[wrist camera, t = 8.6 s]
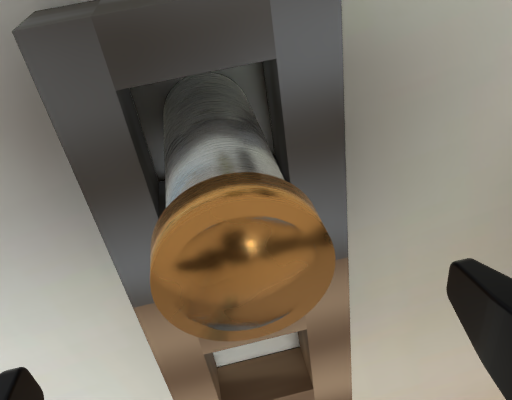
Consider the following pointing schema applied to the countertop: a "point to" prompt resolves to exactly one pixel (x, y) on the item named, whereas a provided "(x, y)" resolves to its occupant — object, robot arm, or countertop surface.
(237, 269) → the lock pin
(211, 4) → the pin dock plate
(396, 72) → the countertop surface
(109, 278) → the countertop surface
